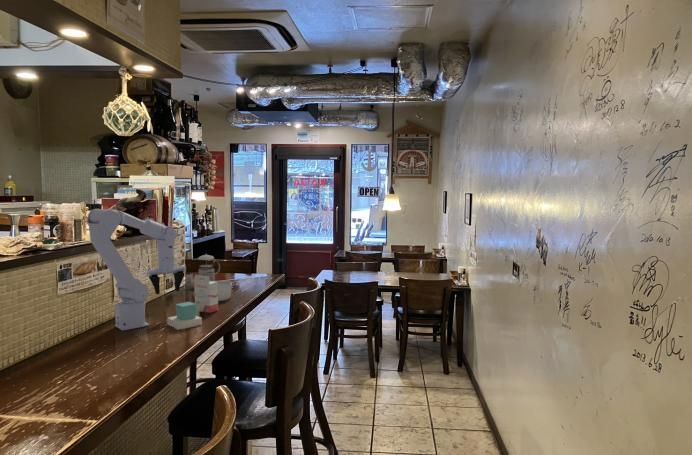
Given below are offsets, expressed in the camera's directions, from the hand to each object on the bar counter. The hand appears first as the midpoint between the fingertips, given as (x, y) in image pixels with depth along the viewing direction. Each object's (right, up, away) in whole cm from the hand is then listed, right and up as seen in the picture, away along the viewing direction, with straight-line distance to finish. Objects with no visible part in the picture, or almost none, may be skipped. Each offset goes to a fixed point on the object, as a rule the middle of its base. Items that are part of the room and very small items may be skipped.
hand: (167, 292), depth 184 cm
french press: (-2, -4, +62) cm, 62 cm away
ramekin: (+11, -7, +30) cm, 33 cm away
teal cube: (+11, -8, -10) cm, 17 cm away
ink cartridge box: (+12, -9, +9) cm, 18 cm away
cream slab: (+10, -11, -10) cm, 18 cm away
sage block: (+8, -9, +2) cm, 13 cm away
